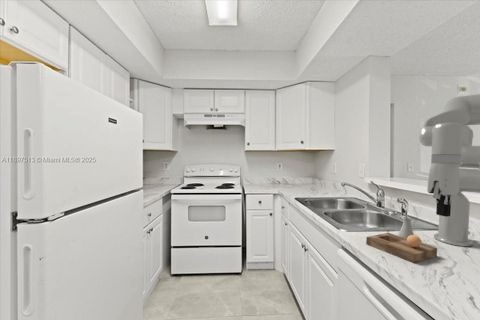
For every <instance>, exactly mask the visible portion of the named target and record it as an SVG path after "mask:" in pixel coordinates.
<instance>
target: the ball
mask: <svg viewBox="0 0 480 320" xmlns="http://www.w3.org/2000/svg"><path fill="white" fill-rule="evenodd" d="M407 243H408V244H409V245H410V246H411V247H414V248H417V247H419V246H421V243H422V244H423V242H422V239H421V238H420V237H419V236H418V235H415V234H414V235H410V236H408V237H407Z"/></svg>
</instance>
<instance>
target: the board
mask: <svg viewBox="0 0 480 320" xmlns="http://www.w3.org/2000/svg"><path fill="white" fill-rule="evenodd" d="M365 241H366V242H365V244H366V245H367V246H369V247H372V248H375V249H377V250H380V251H382V252H385V253H387V254H390V255H392V256H395V257H398V258H399V259H403V260H405V261H407V262H410V263H412V264H415V263H419V262H420V263H421V262H424V261H426V260H428V259H429V260H431V259H433V258H437V256H438V248H437V247H434V246H431V245H429V244H428V245H427V244H424V243H423V242H422V243H421V246H419V247H417V248H414V247H411V246H410V245H409V244H408V243H407V238H403V237H400V236H398V234H394V233H391V232H385V233H380V234H375V235H369V236H366V239H365Z"/></svg>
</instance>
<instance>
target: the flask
mask: <svg viewBox="0 0 480 320" xmlns="http://www.w3.org/2000/svg"><path fill="white" fill-rule="evenodd" d="M402 219H403V220H402V226H401V228H400V229H399V232H398V234H397V236H400V237H403V238H407V237H408V236H410V235H415V233H414V231H413V228H412V223H411V222H412V217H408V216H404V217H403V216H402Z"/></svg>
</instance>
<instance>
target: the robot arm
mask: <svg viewBox="0 0 480 320" xmlns="http://www.w3.org/2000/svg"><path fill="white" fill-rule="evenodd" d="M476 125H478V126H480V93H479V94H471V95H470V94H469V95H461V96H457V97H453V98H450V99H449V100H448V101H447V102H446V103H445V105H444V108H443V110H442V111H441V113H439V114H436V115H434V116H431V117H430V118H428V119H426V120H425V122H423V124H422V127H421V128H420V133H419V138H418V139H419V142H420V144H421V145H422V146H425V147H431V155H430V156H431V158H430V160H431V161H430V162H431V163H430V164H431V165H430V168H429V172H428V179H427V180H428V181H427V188H426V189H427V190H426V191H427V193H429V194H432V198H433V199H435V202H436V210H435V211H436V213H435V214H436V215H438V232H437V233H434V234H433V238H434V239H435V240H437V241H439V242H441V243H445V244H449V245H453V246H460V247H472V246H473V245H474V242H473V241H472V240H471V239H469V235H471V232H470V231H469V223H470V204H471V203H470V201H469V199H468V197H467V196H466V195H464V194H463V192H467V193H476V194H480V145H473V140H474V131H473V129H472V128H471V127H470V126H476Z"/></svg>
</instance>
